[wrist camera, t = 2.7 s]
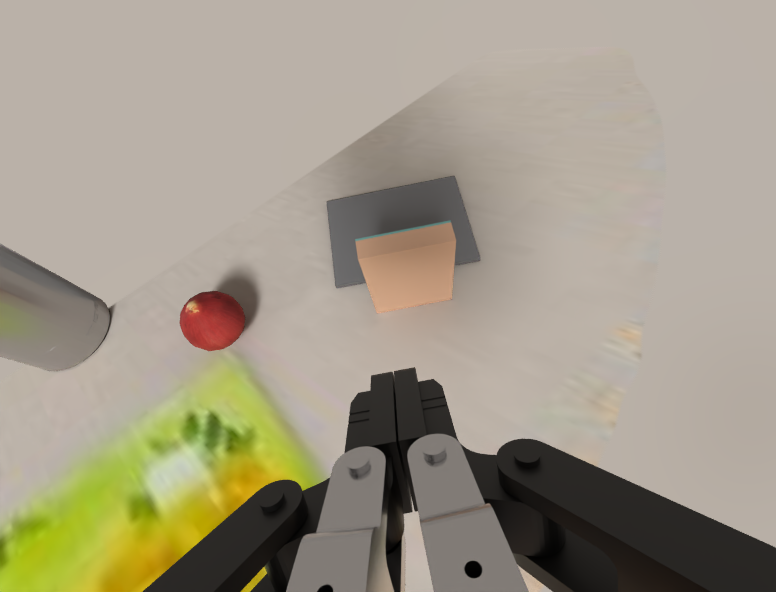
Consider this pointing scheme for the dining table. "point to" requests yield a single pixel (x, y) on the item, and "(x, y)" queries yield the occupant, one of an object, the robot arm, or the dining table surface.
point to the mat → (395, 221)
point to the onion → (212, 320)
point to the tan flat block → (409, 266)
